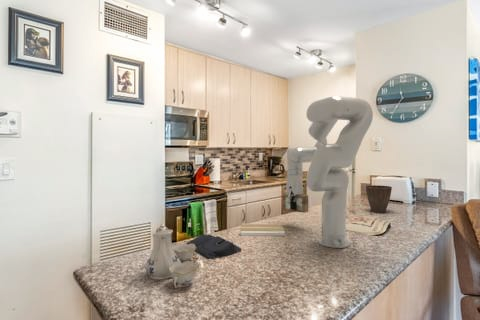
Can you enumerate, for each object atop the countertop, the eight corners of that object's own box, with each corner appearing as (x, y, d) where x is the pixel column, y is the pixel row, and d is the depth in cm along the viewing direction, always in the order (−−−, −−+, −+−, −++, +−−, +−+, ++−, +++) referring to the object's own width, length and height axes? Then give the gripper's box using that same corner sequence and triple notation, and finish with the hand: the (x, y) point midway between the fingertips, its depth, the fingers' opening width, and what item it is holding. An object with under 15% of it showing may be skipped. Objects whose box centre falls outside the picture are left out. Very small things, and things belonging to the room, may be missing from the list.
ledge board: (281, 228, 140) (281, 222, 140) (284, 235, 128) (284, 229, 128) (241, 228, 141) (241, 222, 141) (240, 235, 129) (240, 229, 129)
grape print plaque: (318, 233, 144) (382, 242, 126) (317, 221, 143) (382, 228, 125) (336, 218, 166) (393, 224, 148) (335, 208, 166) (393, 213, 147)
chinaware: (204, 296, 79) (209, 236, 79) (140, 298, 74) (146, 235, 74) (192, 259, 105) (196, 215, 105) (145, 259, 101) (149, 213, 101)
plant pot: (361, 211, 178) (361, 186, 178) (371, 208, 188) (371, 184, 188) (386, 215, 167) (386, 188, 167) (395, 211, 177) (395, 186, 177)
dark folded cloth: (214, 238, 126) (213, 228, 126) (244, 252, 109) (244, 240, 108) (182, 245, 117) (182, 234, 117) (210, 262, 99) (209, 248, 99)
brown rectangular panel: (308, 211, 141) (308, 195, 141) (305, 212, 137) (304, 196, 138) (286, 209, 148) (286, 194, 148) (283, 210, 145) (282, 194, 145)
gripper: (295, 171, 152) (296, 205, 152) (280, 173, 138) (280, 210, 138) (308, 172, 147) (309, 207, 147) (294, 173, 134) (295, 212, 134)
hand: (295, 208), depth 143 cm, fingers closed on brown rectangular panel, 4 cm apart
